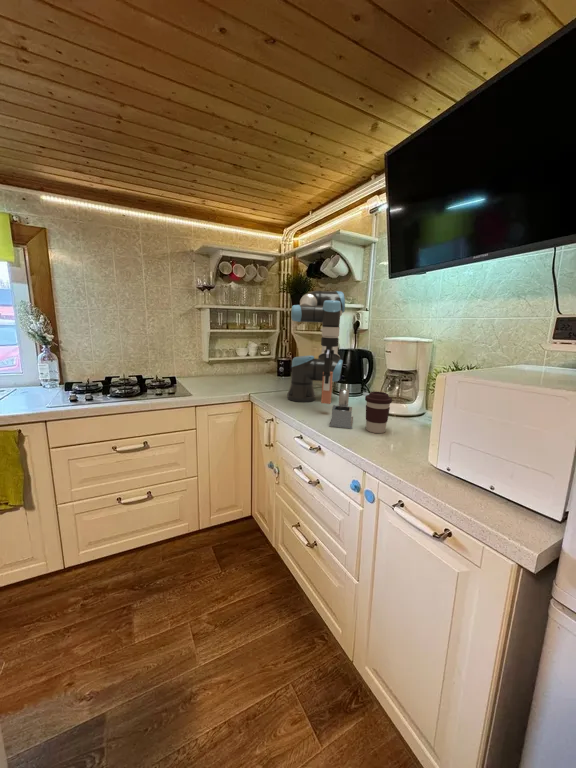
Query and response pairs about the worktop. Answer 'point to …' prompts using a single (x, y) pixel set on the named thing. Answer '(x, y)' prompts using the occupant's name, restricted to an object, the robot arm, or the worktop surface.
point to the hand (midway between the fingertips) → (326, 389)
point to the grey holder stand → (342, 412)
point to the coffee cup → (377, 411)
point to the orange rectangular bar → (327, 394)
